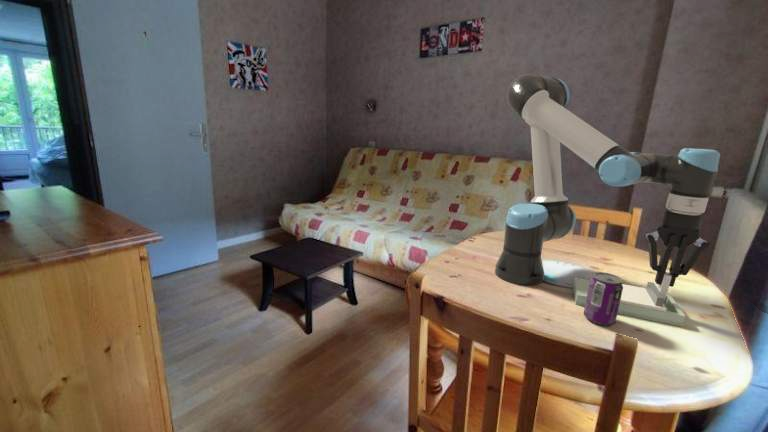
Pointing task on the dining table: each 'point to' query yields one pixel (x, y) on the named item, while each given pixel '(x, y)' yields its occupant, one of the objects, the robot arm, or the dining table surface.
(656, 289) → the lid
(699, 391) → the dining table surface
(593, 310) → the beverage can
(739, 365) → the dining table surface
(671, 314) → the serving tray
